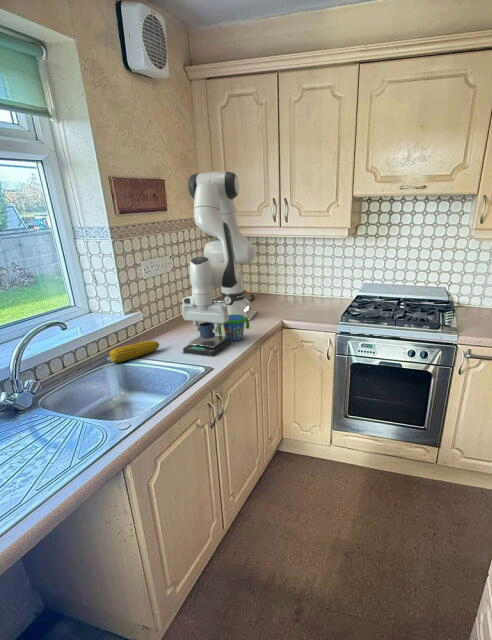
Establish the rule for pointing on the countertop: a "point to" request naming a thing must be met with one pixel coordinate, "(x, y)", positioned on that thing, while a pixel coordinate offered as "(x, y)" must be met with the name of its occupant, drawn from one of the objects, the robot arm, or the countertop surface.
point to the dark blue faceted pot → (206, 330)
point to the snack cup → (234, 327)
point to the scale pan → (208, 341)
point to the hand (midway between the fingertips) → (207, 331)
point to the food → (132, 351)
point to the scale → (207, 349)
